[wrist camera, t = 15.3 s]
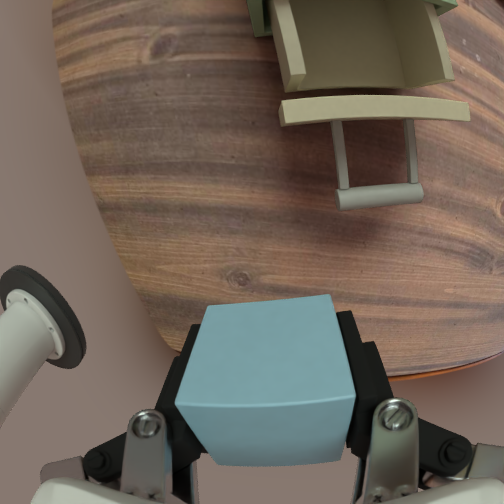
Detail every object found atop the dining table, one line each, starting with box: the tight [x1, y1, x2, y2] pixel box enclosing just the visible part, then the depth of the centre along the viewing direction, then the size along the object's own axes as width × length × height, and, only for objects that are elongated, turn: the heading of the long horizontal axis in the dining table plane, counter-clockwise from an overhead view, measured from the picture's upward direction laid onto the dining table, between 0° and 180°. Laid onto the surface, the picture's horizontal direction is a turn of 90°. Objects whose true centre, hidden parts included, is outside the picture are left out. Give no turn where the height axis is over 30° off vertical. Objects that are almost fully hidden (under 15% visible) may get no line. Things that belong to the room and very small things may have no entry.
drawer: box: [264, 0, 470, 211], centre depth 13 cm, size 19×11×7 cm, turn 10°
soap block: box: [175, 294, 356, 466], centre depth 8 cm, size 4×4×4 cm
